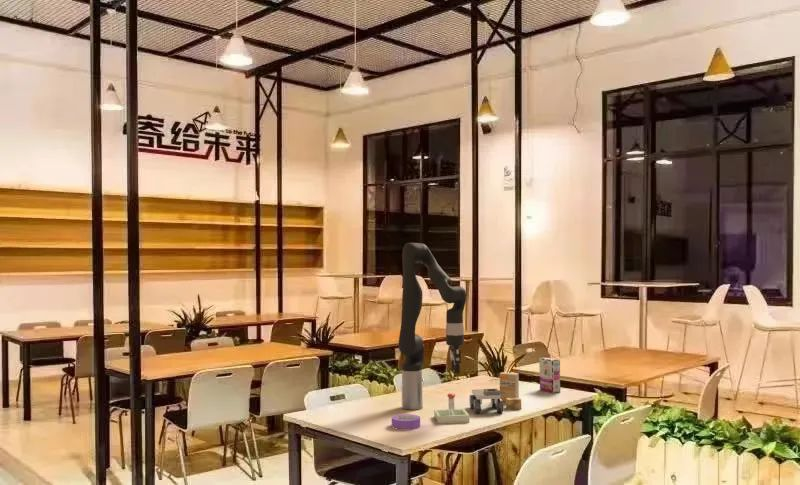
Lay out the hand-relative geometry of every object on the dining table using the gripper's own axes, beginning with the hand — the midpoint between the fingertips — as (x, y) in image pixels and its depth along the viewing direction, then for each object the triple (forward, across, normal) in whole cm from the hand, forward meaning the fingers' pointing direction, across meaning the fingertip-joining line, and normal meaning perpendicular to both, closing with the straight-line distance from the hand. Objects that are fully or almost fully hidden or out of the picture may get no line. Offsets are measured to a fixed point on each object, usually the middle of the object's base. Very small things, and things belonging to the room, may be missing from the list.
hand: (455, 371), depth 287 cm
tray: (+20, +1, -2) cm, 20 cm away
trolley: (+20, -14, +16) cm, 29 cm away
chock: (+20, -16, +28) cm, 38 cm away
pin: (+19, +1, -2) cm, 19 cm away
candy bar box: (+20, -53, +56) cm, 79 cm away
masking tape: (+20, +10, -22) cm, 31 cm away
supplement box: (+20, -32, +30) cm, 49 cm away
